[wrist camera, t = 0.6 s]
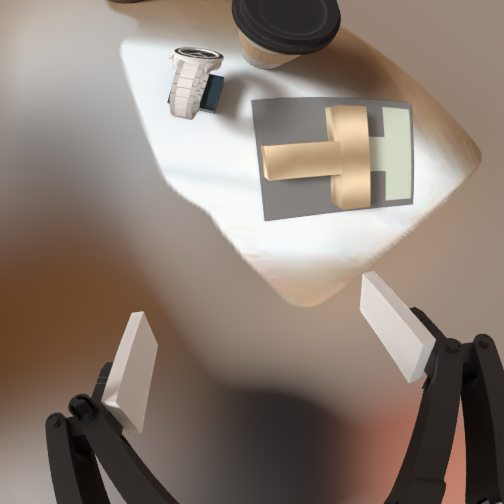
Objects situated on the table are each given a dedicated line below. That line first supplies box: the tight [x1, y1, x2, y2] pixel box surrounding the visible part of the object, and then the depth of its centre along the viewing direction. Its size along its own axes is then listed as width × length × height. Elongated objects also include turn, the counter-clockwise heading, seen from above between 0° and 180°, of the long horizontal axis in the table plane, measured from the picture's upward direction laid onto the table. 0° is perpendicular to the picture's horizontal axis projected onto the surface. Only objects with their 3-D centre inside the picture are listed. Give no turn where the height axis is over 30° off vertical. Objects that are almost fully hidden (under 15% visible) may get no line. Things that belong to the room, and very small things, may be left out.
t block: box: [261, 105, 370, 210], centre depth 33 cm, size 13×13×4 cm
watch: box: [167, 48, 224, 120], centre depth 25 cm, size 6×8×11 cm
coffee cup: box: [232, 0, 341, 69], centre depth 22 cm, size 9×9×15 cm
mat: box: [251, 97, 414, 221], centre depth 35 cm, size 16×24×1 cm, turn 96°
